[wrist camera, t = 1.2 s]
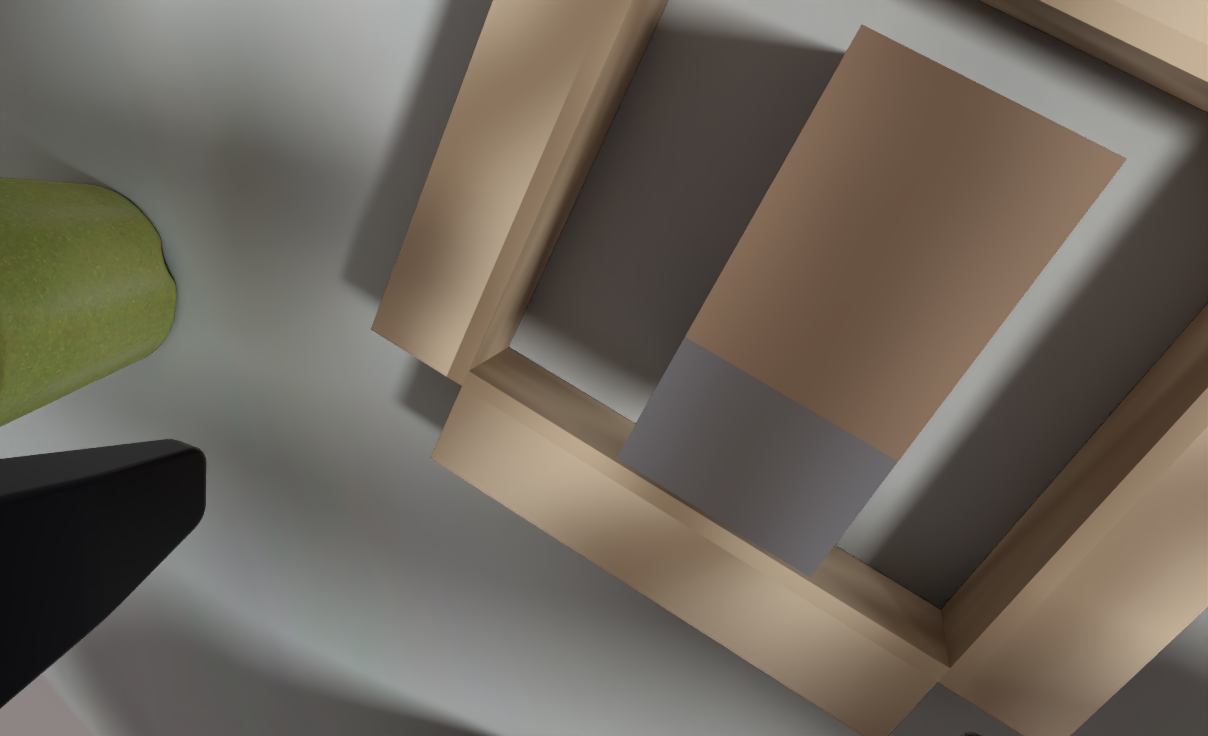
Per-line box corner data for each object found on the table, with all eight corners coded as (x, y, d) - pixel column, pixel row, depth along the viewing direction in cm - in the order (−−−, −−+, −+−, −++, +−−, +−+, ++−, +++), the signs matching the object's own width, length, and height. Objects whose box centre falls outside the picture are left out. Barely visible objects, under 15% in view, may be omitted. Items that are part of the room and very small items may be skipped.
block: (1043, 149, 17) (1126, 159, 12) (825, 460, 21) (810, 577, 15) (862, 57, 18) (861, 24, 12) (680, 374, 21) (616, 458, 16)
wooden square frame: (1613, 98, 14) (1757, 92, 12) (973, 742, 22) (986, 814, 19) (672, -331, 17) (642, -404, 14) (392, 377, 24) (343, 402, 22)
